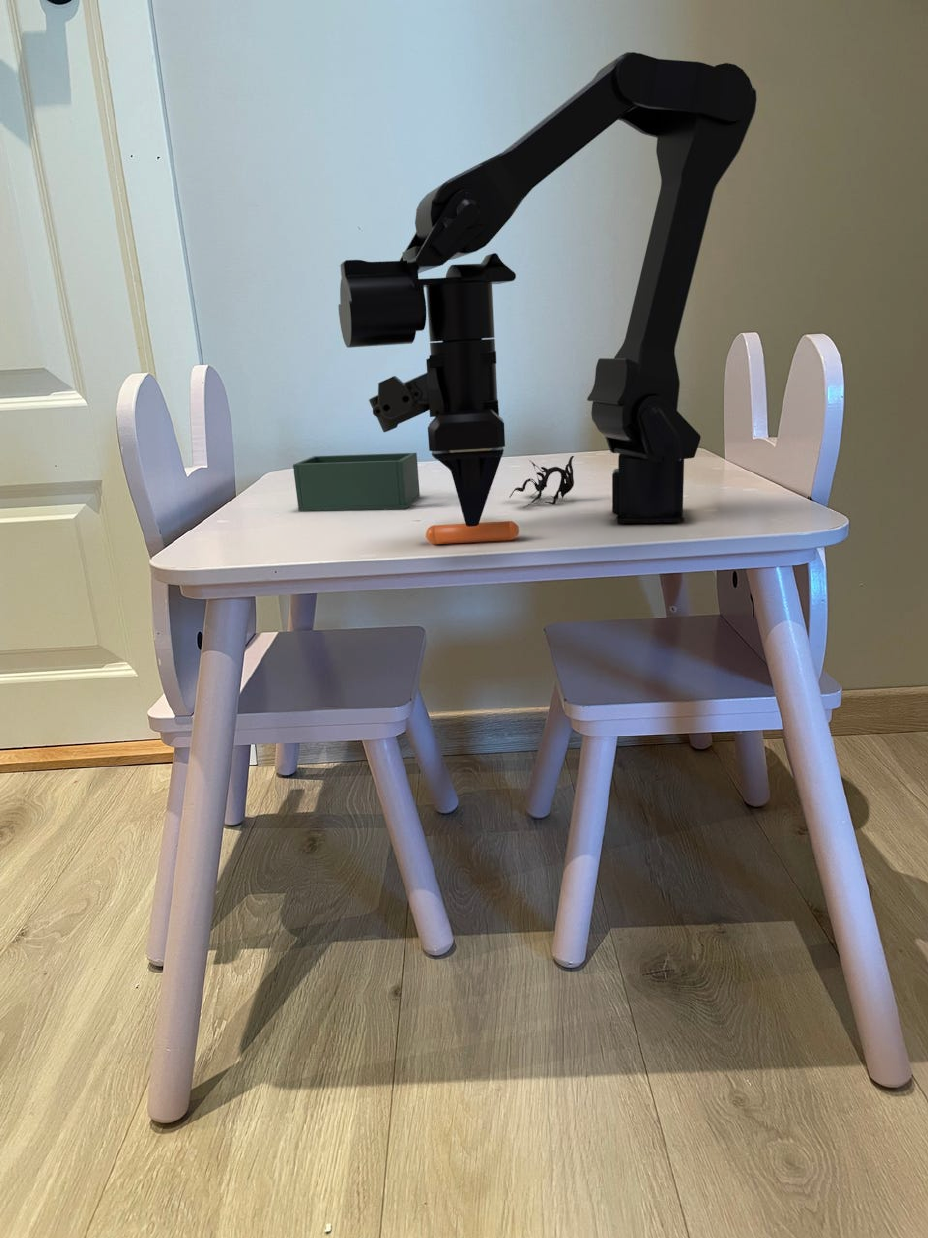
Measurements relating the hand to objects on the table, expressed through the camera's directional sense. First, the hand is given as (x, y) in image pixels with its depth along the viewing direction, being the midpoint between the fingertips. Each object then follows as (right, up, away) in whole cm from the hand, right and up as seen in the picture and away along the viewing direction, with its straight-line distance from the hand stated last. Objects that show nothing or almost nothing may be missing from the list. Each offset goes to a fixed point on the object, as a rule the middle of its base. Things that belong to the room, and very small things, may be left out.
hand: (472, 515), depth 78 cm
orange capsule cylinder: (0, -2, +1) cm, 2 cm away
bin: (-13, +4, +22) cm, 26 cm away
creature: (+8, +3, +17) cm, 19 cm away
